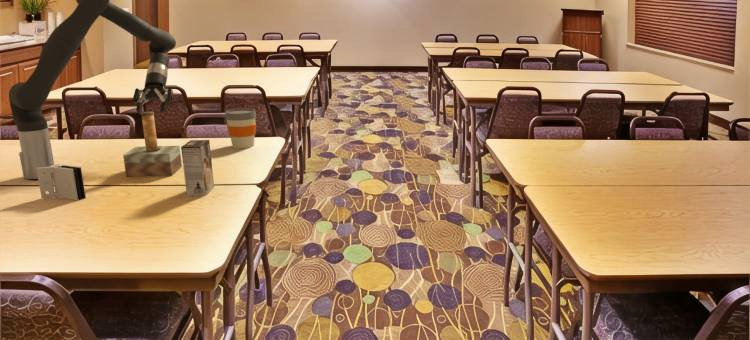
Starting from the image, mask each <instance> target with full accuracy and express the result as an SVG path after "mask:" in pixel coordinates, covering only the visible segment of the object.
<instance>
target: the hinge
mask: <svg viewBox="0 0 750 340" xmlns="http://www.w3.org/2000/svg"><path fill="white" fill-rule="evenodd" d="M36 170H37V175H38V186H39V191H40V196H41V199H42V198H47V199H53V198H52V197H58V198H59V197H60V198H59V199H64V198H67V199H66V200H71V199H74V200H73V201H82V200H84V199H87V195H86V190H85V183H84V176H83V171H82V166H78V165H69V164H54V165H52V166H51V167H41V168H36ZM43 172H45V175H43V174H42V173H43ZM51 173H52V175H51ZM52 176H53V177H52ZM47 192H48V193H47ZM78 199H79V200H78Z"/></svg>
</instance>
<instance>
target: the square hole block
mask: <svg viewBox="0 0 750 340" xmlns="http://www.w3.org/2000/svg"><path fill="white" fill-rule="evenodd" d="M122 157H123V162H124V171H125V177H126V178H130V177H131V178H134V177H135V178H136V177H139V178H140V177H169V176H170V177H171V176H173V175H175V174H176V173H177V172H178V171H179V170H180V169H181V168H182V167H183V165H182V164H183V162H182V153H181V146H180V145H158V151H157V152H146V146H135V147H133V148H131V149H130V150H129V151H127V152H125V153H124V154H123V155H122Z"/></svg>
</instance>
